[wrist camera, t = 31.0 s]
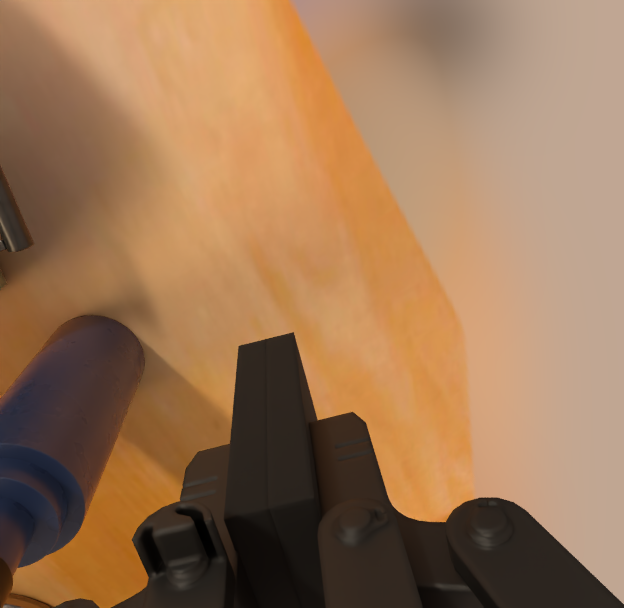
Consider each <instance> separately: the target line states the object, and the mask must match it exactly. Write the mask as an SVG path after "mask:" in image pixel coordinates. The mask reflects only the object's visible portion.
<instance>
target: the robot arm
mask: <svg viewBox="0 0 624 608" xmlns="http://www.w3.org/2000/svg"><path fill="white" fill-rule="evenodd" d="M132 541H133V543H134V546H135V548H136V550H137V552H138V554H139V557H140V559H141V561H142V563H143V566H144V568H145V570H146V572H147V574H148V577H149V579H148V584H147V587H146V588H144V589H143V590H142V591H140V592H139V593H137V594H135V595H134V596H132V597H131V598H129V599H127V600H125V601H123V602H121V603H119V604H117V605H115V606H113V607H111V608H624V604H623V603H622V602H621V601H619V600H618V599H617V598H616V597H615V596H614V595H613V594H612V593H611V592H610V591H609V590H608V589H607V588H606V587H605V586H604V585H603V584H602V583H601V582H600V581H599V580H598V579H597V578H596V577H594V575H592V574H591V573H590V572H589V571H588V570H587V569H586V568H585V567H584V566H583V565H582V564H581V563H580V562H579V561H578V560H577V559H576V558H575V557H574V556H573V555H572V554H571V553H569V551H567V550H566V549H565V548H564V547H563V546H562V545H561V544H560V543H559V542H558V541H557V540H556V539H555V538H554V537H553V536H552V535H551V534H550V533H549V532H548V531H547V530H546V529H545V528H544V527H542V526H541V525H540V524H539V523H538V522H537V521H536V520H535V519H534V518H533V517H532V516H531V515H530V514H529V513H528V512H527V511H526V510H524V509H523V508H521V507H520V506H518V505H517V504H515V503H514V502H510V501H507V500H504V499H500V498H478V499H474V500H470V501H467V502H465V503H463V504H462V505H460V506H459V507H457V508H456V509H454V510H453V511H452V513H451V514H450V516H449V518H448V519H447V521H446V522H425V521H418V520H414V519H411V518H408V517H406V516H404V515H403V514H401V513H399V512H398V511H397V510H396V509H395V508H394V507H393V506H392V504H391V502H390V500H389V498H388V495H387V492H386V489H385V485H384V482H383V479H382V475H381V472H380V469H379V465H378V462H377V459H376V455H375V452H374V449H373V445H372V442H371V439H370V435H369V432H368V429H367V425H366V422H364V421H363V420H362V419H361V418H360V417H358V416H357V415H356V414H355V413H353V412H350V413H346V414H342V415H338V416H334V417H330V418H326V419H322V420H318V421H317V416H316V413H315V409H314V405H313V402H312V398H311V394H310V391H309V387H308V383H307V380H306V376H305V372H304V369H303V365H302V361H301V358H300V354H299V350H298V347H297V343H296V339H295V335H294V332H293V333H289V334H285V335H281V336H277V337H273V338H269V339H265V340H261V341H257V342H253V343H249V344H245V345H241V346H239V348H238V359H237V371H236V383H235V394H234V406H233V417H232V429H231V440H230V444H228V445H223V446H219V447H215V448H211V449H207V450H203V451H199V452H197V454H196V455H195V457H194V458H193V459H192V461H191V462H190V464H189V465H188V466H187V468H186V471H185V476H184V481H183V489H182V492H181V497H180V502H176V503H173V504H170V505H168V506H165V507H162V508H161V509H159V510H158V511H156V512H155V513H153V514H152V515H150V516H149V517H148V518H147V519H146V520H145V521H144V522H143V523H142V524H141V525H140V526H139V527H138V528H137V530H136V532H135V534H134V536H133V538H132ZM3 608H51V607H49V606H47V605H45V604H43V603H41V602H39V601H36V600H34V599H31V598H28V597H25V596H20V595H16V594H9V596H8V598H7V600H6V602H5V604H4V606H3ZM54 608H99V607H98V606H97V605H96V604H95V603H94V602H93V601H92V600H86V599H75V600H71V601H66V602H64V603H62V604H60V605H58V606H56V607H54Z"/></svg>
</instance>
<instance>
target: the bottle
mask: <svg viewBox="0 0 624 608" xmlns="http://www.w3.org/2000/svg"><path fill="white" fill-rule="evenodd" d="M144 365H145V359H144V353H143V349H142V347H141V345H140V342H139V341H138V339H137V338H136V336H135V335H134V334H133V333H132V332H131V331H130V330H129V329H128V328H127V327H125V326H124V325H122V324H121V323H119V322H117V321H115V320H112V319H110V318H106V317H102V316H92V315H91V316H81V317H77V318H74V319H71V320H69V321H67V322H66V323H64V324H63V325H61V326H60V327H59V328H58V329H57V330H56V331H55V332H54V334H53V335H52V336H51V337H50V339H49V340H48V341H47V342H46V343H45V345H44V346H43V347H42V348H41V350H40V351H39V352H38V353H37V355H36V356H35V357H34V358H33V359H32V361H31V362H30V363H29V364H28V366H27V367H26V368H25V369H24V371H23V372H22V373H21V374H20V375H19V377H18V378H17V379H16V380H15V382H14V383H13V384H12V385H11V386H10V388H9V389H8V390H7V391H6V393H5V394H4V395H3V396H2V398H1V399H0V608H3V606H4V604H5V602H6V600H7V598H8V596H9V594H10V592H11V590H12V586H13V575H14V573H15V571H16V569H17V568H19V567H24V566H27V565H30V564H32V563H35V562H37V561H38V560H40V559H42V558H43V557H44V556H46V555H48V554H51V553H53V552H55V551H57V550H59V549H60V548H62V547H64V546H65V545H66V544H67V543H69V542H70V541H71V540H72V539H73V538H74V537H75V535H76V534H77V533H78V531H79V529H80V527H81V525H82V523H83V521H84V518H85V516H86V513H87V511H88V508H89V506H90V503H91V501H92V498H93V496H94V493H95V491H96V489H97V486H98V484H99V481H100V479H101V476H102V474H103V471H104V469H105V466H106V464H107V461H108V459H109V456H110V454H111V451H112V449H113V446H114V444H115V441H116V439H117V436H118V434H119V431H120V429H121V426H122V424H123V421H124V419H125V416H126V414H127V411H128V409H129V406H130V404H131V401H132V399H133V397H134V394H135V392H136V389H137V387H138V384H139V382H140V379H141V377H142V374H143V371H144Z"/></svg>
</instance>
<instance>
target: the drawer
mask: <svg viewBox="0 0 624 608" xmlns="http://www.w3.org/2000/svg"><path fill="white" fill-rule="evenodd" d="M0 234H1V236H2V238H3V239H1V240H0V251H3V250H6V249H7V250H8V252H18V251H21V250H24V249H27V248H29V247H31V246H33V245H34V242H33V240H32V238H31V235H30V233H29V231H28V228H27V226H26V224H25V221H24V219H23V217H22V214H21V212H20V210H19V207H18V205H17V203H16V200H15V198H14V196H13V193H12V191H11V189H10V186H9V184H8V182H7V179H6V177H5V175H4V172H3V170H2V168H1V165H0ZM6 285H7V282H6V280H5V278H4V276H3V273H2V271H1V269H0V290H1V289H2V288H3V287H5V286H6Z"/></svg>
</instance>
